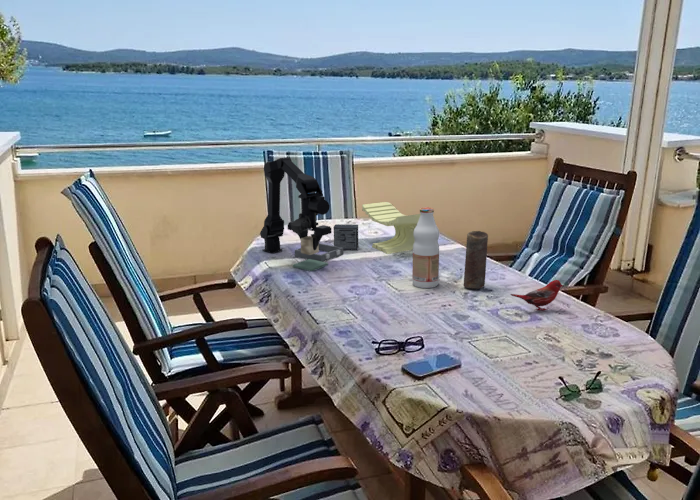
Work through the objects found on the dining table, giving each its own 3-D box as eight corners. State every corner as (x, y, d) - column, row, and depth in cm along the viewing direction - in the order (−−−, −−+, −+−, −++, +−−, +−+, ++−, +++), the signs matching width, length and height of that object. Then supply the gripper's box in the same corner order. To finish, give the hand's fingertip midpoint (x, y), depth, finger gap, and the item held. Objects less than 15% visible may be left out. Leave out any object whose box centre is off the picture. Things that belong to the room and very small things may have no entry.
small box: (358, 246, 272) (358, 223, 269) (357, 250, 265) (357, 227, 263) (335, 246, 273) (335, 223, 270) (333, 250, 266) (333, 227, 264)
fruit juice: (414, 289, 215) (415, 211, 208) (410, 280, 224) (411, 206, 217) (440, 288, 216) (442, 211, 208) (435, 280, 225) (437, 205, 217)
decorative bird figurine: (563, 310, 193) (566, 280, 191) (511, 314, 191) (512, 284, 188) (559, 307, 196) (561, 278, 194) (507, 311, 193) (509, 281, 191)
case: (294, 256, 257) (294, 250, 256) (317, 249, 268) (317, 242, 267) (322, 262, 248) (322, 255, 247) (344, 254, 259) (344, 248, 258)
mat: (292, 266, 243) (292, 264, 243) (309, 261, 250) (309, 258, 250) (311, 271, 237) (311, 268, 237) (327, 265, 245) (327, 262, 244)
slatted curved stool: (429, 253, 259) (430, 212, 255) (397, 258, 252) (398, 216, 248) (392, 238, 285) (392, 201, 280) (362, 243, 278) (362, 204, 273)
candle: (487, 286, 217) (490, 231, 212) (482, 292, 211) (485, 236, 206) (466, 283, 221) (468, 229, 215) (461, 289, 214) (463, 234, 209)
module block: (301, 252, 242) (300, 238, 240) (309, 250, 246) (309, 235, 244) (310, 255, 239) (310, 240, 237) (318, 252, 243) (318, 237, 241)
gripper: (277, 211, 237) (278, 249, 241) (312, 217, 226) (313, 257, 230) (296, 206, 246) (297, 243, 250) (332, 212, 234) (332, 251, 239)
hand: (309, 248), depth 242 cm, fingers closed on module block, 5 cm apart
